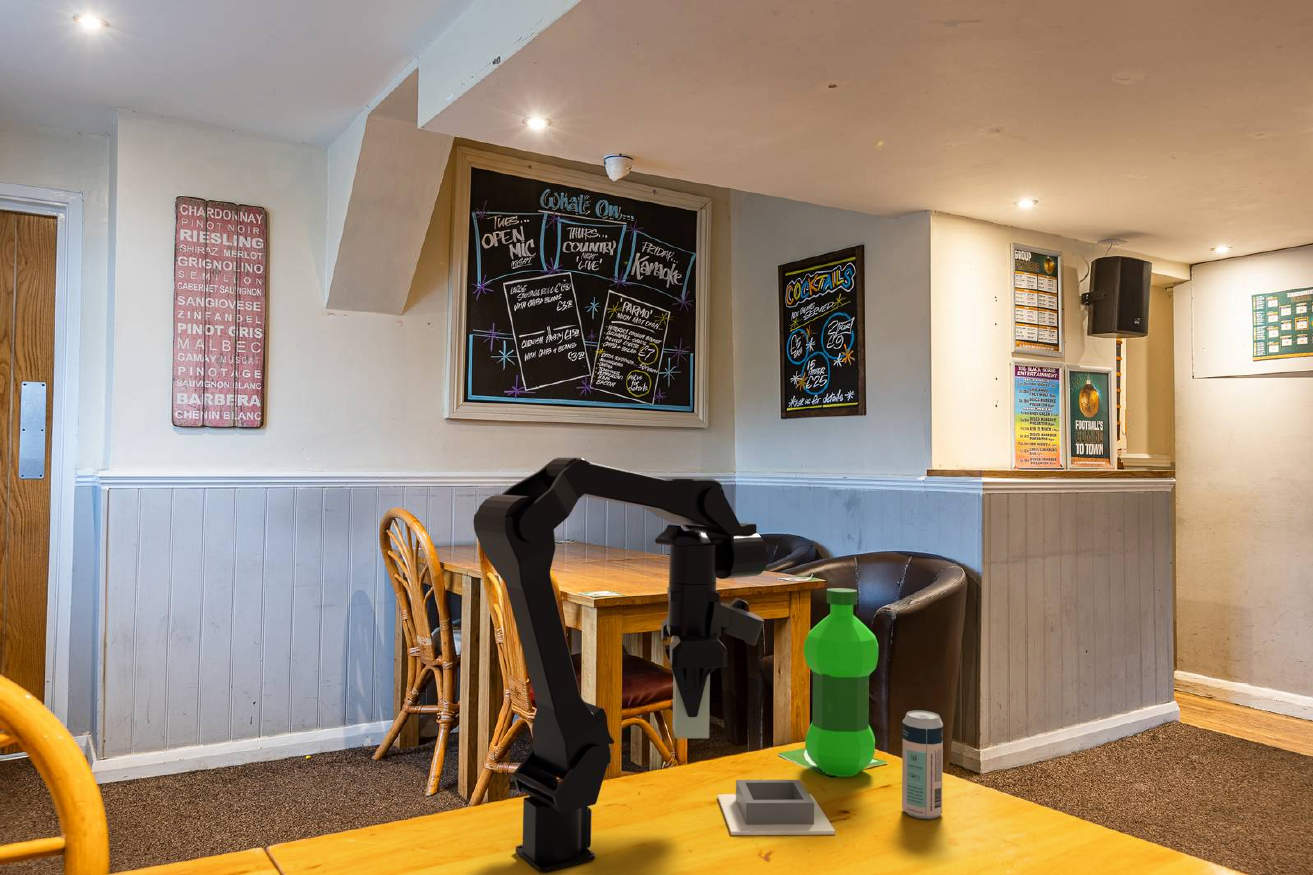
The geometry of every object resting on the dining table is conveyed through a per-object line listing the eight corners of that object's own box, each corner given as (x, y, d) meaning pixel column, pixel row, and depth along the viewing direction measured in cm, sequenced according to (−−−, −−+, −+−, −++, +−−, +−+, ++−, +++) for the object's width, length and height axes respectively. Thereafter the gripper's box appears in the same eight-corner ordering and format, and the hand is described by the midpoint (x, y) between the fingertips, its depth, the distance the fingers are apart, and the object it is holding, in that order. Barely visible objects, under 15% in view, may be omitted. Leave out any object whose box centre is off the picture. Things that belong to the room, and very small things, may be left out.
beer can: (938, 807, 116) (939, 710, 116) (946, 822, 111) (947, 720, 111) (898, 805, 116) (899, 708, 117) (905, 820, 111) (906, 719, 112)
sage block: (709, 738, 110) (710, 670, 110) (675, 738, 110) (676, 670, 110) (705, 728, 114) (706, 662, 114) (672, 728, 114) (673, 662, 114)
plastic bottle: (787, 768, 130) (789, 588, 131) (835, 754, 137) (837, 583, 137) (844, 788, 122) (846, 597, 123) (892, 772, 129) (894, 591, 130)
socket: (835, 834, 107) (835, 808, 107) (731, 835, 106) (731, 809, 106) (811, 797, 119) (811, 774, 119) (717, 797, 118) (718, 774, 118)
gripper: (773, 592, 103) (771, 734, 103) (746, 573, 122) (744, 693, 122) (673, 592, 103) (671, 734, 102) (661, 572, 121) (659, 693, 121)
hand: (690, 712), depth 112 cm, fingers closed on sage block, 4 cm apart
